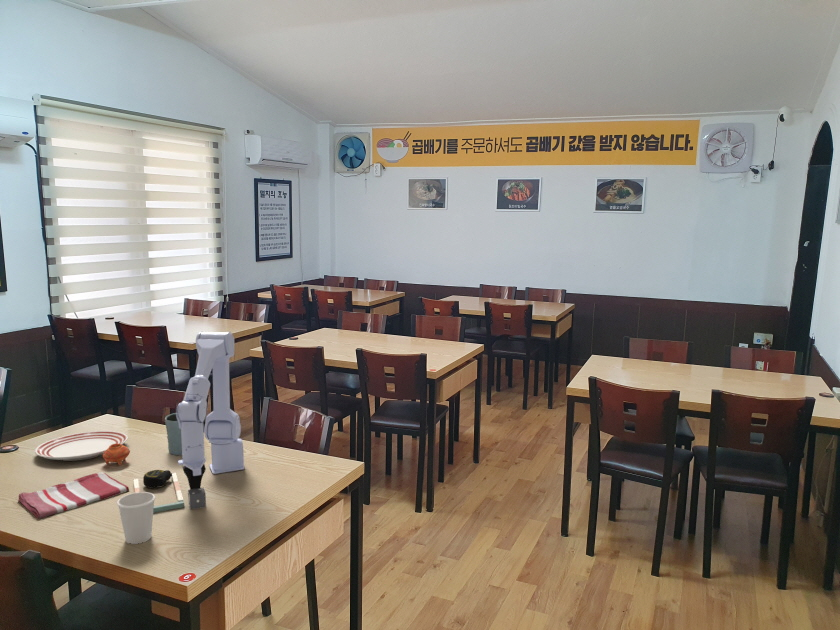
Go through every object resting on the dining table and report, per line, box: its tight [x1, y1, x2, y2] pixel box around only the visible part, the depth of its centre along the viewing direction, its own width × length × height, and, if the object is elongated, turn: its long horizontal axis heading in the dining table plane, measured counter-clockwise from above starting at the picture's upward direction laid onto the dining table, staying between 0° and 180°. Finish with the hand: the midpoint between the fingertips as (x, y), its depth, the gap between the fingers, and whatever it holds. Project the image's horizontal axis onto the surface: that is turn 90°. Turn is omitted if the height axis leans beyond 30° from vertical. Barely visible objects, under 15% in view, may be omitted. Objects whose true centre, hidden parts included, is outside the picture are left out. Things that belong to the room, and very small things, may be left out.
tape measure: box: [142, 469, 173, 489], centre depth 183 cm, size 7×7×4 cm
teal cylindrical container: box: [164, 412, 182, 456], centre depth 210 cm, size 10×10×12 cm
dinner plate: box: [34, 430, 129, 462], centre depth 210 cm, size 28×27×3 cm
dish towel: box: [18, 471, 130, 519], centre depth 175 cm, size 17×23×3 cm
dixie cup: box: [116, 491, 156, 545], centre depth 151 cm, size 8×8×10 cm
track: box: [133, 472, 185, 514], centre depth 176 cm, size 12×23×1 cm, turn 26°
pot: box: [102, 444, 131, 467], centre depth 199 cm, size 8×8×7 cm
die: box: [187, 486, 207, 511], centre depth 170 cm, size 4×4×4 cm
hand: (195, 491), depth 172 cm, fingers closed
